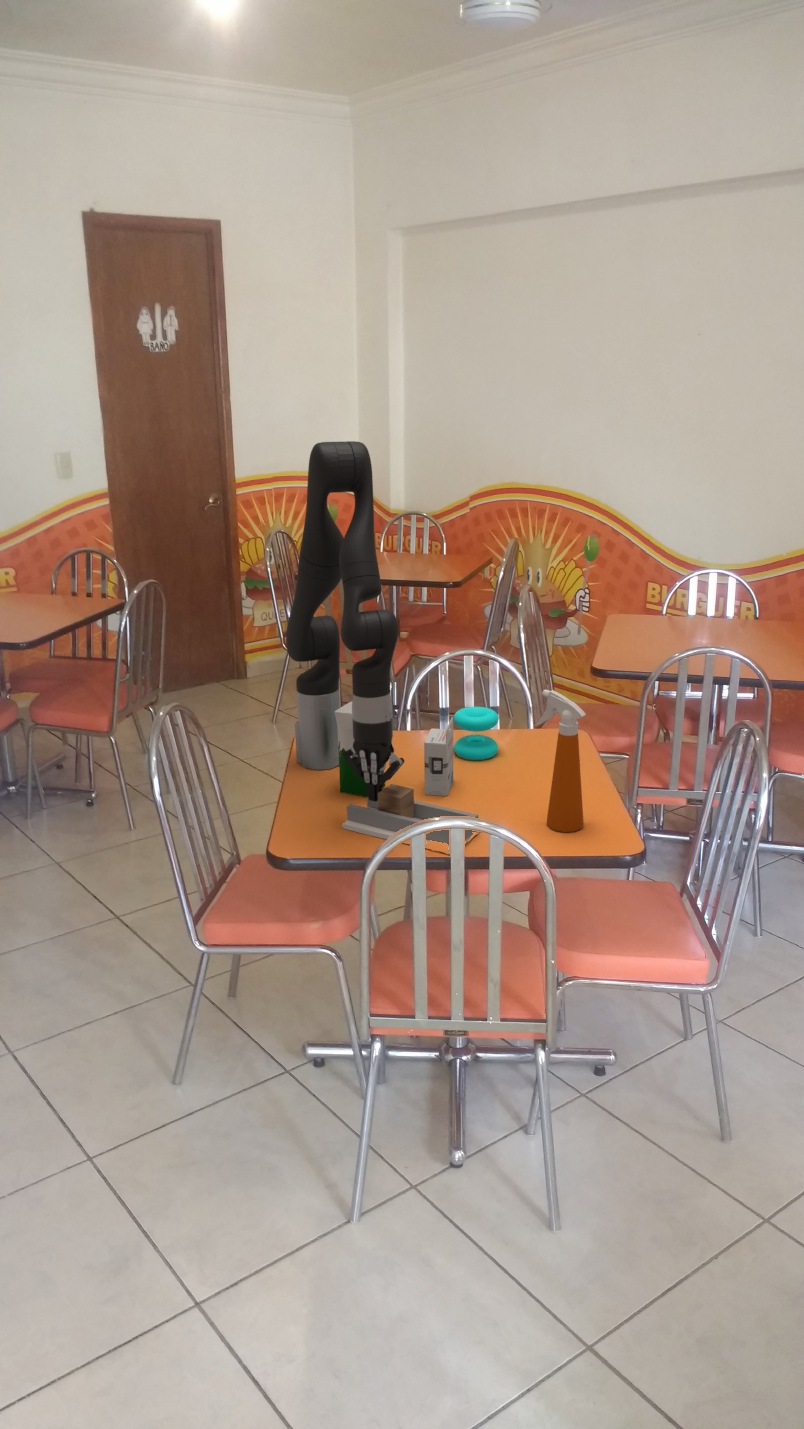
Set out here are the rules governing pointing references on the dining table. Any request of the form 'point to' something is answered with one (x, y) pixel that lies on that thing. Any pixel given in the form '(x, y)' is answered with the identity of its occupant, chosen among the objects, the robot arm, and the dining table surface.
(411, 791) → the block
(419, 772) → the dining table surface
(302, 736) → the robot arm
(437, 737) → the ink box
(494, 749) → the donuts
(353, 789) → the milk carton
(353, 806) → the chute
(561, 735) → the spray bottle
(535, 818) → the dining table surface
